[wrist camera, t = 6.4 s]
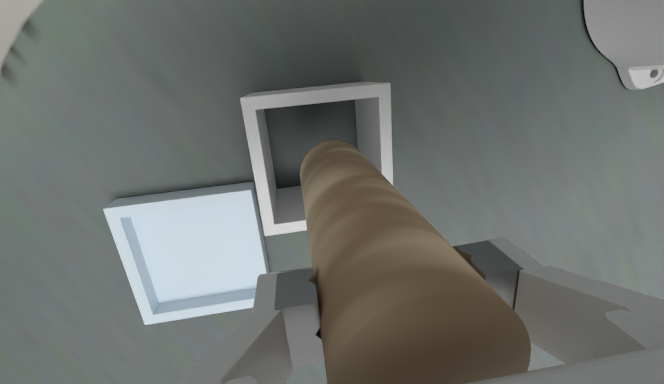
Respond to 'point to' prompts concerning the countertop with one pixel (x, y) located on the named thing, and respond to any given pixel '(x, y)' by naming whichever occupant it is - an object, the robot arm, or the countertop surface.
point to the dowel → (397, 285)
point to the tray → (190, 250)
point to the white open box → (370, 104)
